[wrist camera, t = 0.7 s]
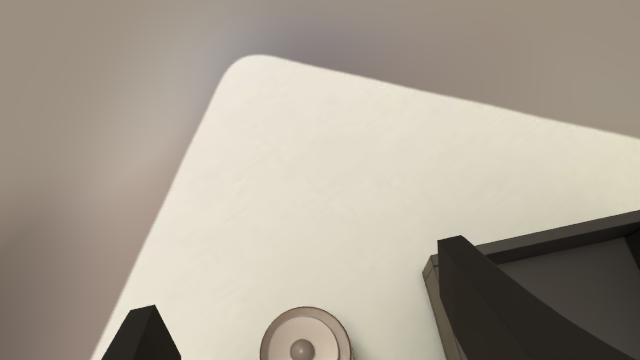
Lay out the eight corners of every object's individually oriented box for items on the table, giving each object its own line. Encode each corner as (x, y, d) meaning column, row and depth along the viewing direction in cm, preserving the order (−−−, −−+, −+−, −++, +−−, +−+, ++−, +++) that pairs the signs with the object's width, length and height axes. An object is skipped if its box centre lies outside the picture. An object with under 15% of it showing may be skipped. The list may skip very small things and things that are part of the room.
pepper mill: (361, 392, 27) (360, 393, 19) (289, 407, 27) (259, 415, 19) (346, 317, 29) (338, 291, 21) (277, 332, 29) (245, 311, 21)
